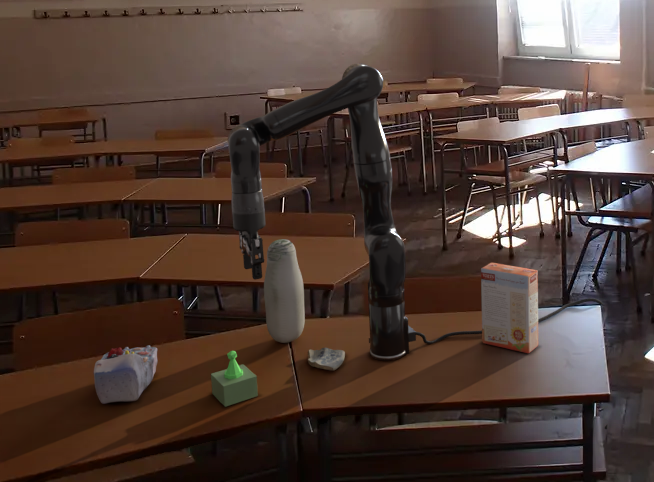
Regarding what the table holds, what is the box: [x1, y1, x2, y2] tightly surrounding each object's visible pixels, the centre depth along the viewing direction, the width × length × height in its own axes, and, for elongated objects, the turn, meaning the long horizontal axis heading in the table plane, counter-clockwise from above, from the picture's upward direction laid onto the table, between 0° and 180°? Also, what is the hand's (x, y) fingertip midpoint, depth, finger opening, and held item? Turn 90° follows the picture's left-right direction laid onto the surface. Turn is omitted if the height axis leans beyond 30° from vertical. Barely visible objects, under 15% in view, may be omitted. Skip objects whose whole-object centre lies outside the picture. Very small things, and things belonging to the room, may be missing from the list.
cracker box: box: [480, 262, 539, 354], centre depth 216 cm, size 14×6×21 cm, turn 58°
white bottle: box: [263, 239, 306, 344], centre depth 222 cm, size 10×10×28 cm
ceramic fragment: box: [307, 347, 346, 372], centre depth 210 cm, size 11×3×10 cm
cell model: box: [93, 345, 159, 405], centre depth 198 cm, size 13×11×20 cm
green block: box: [210, 364, 259, 408], centre depth 194 cm, size 8×8×5 cm
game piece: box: [224, 350, 243, 379], centre depth 193 cm, size 4×4×6 cm
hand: (253, 273), depth 201 cm, fingers open, 8 cm apart
